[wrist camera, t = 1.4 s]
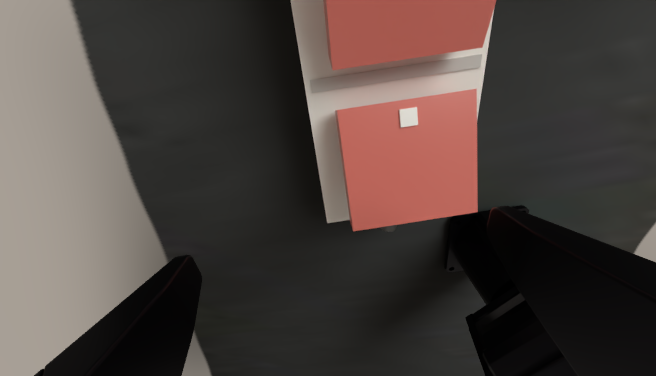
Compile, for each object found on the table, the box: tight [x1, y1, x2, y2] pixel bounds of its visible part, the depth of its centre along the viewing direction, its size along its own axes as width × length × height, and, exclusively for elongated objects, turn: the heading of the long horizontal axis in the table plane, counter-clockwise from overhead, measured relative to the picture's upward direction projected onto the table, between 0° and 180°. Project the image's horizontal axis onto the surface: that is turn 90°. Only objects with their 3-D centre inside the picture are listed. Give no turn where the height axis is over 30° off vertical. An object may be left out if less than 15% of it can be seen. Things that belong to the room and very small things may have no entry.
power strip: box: [291, 0, 494, 232], centre depth 14 cm, size 28×9×4 cm, turn 7°
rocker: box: [335, 89, 478, 231], centre depth 14 cm, size 6×6×2 cm
